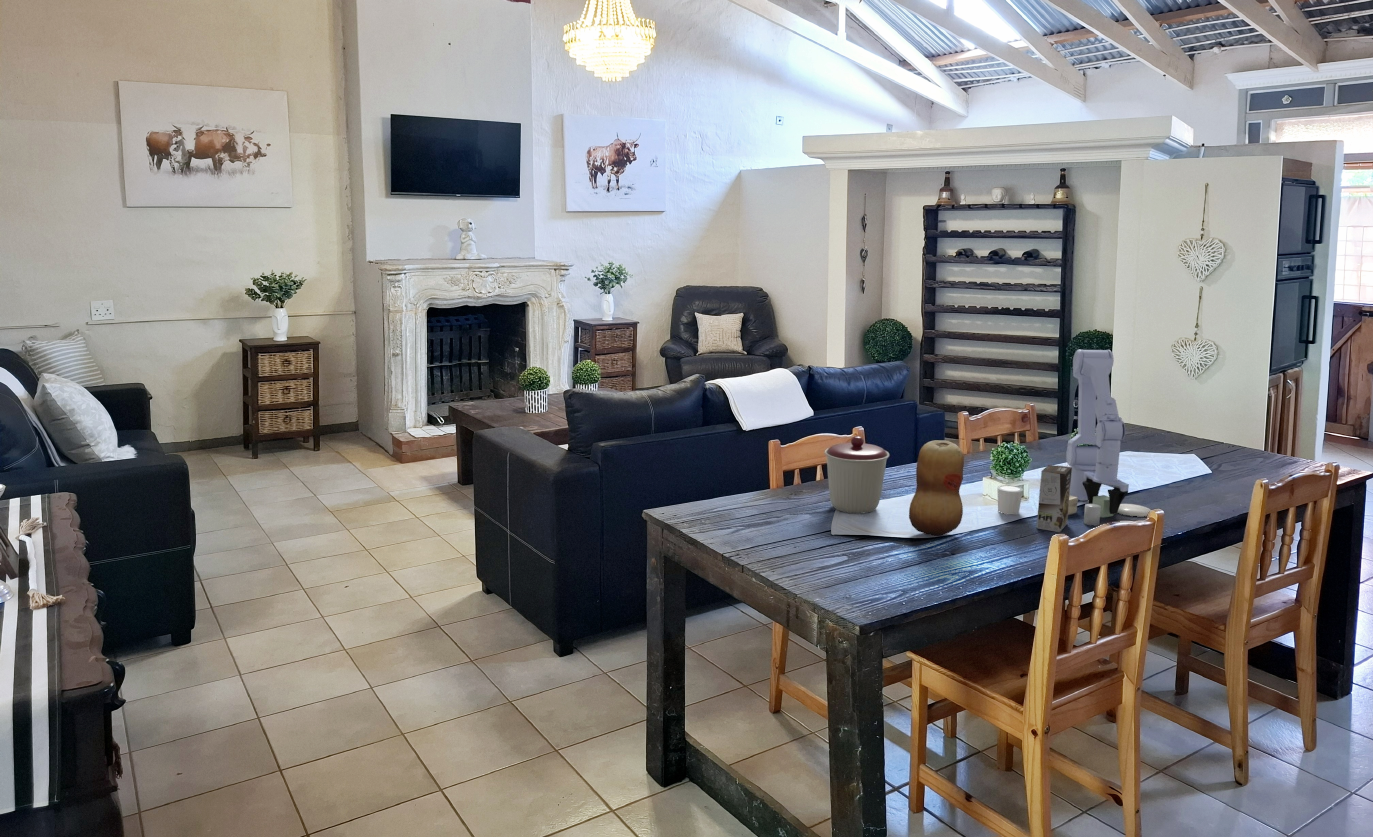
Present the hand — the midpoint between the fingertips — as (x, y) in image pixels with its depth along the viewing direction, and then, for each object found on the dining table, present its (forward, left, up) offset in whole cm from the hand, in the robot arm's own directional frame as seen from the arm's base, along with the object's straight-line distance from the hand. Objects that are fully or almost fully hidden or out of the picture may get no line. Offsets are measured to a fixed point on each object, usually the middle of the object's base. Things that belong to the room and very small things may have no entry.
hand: (1102, 509), depth 285 cm
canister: (-31, -62, -2) cm, 69 cm away
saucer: (+1, +10, -1) cm, 10 cm away
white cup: (-12, -23, -2) cm, 26 cm away
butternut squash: (-3, -55, -2) cm, 55 cm away
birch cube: (-6, -8, -2) cm, 10 cm away
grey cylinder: (+5, -9, -2) cm, 10 cm away
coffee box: (+3, -21, -2) cm, 21 cm away
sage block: (0, 0, -2) cm, 2 cm away
